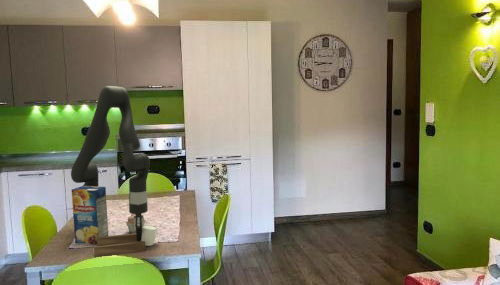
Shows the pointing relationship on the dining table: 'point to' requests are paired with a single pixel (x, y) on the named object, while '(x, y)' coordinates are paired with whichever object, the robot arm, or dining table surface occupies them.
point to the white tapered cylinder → (148, 234)
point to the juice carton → (89, 214)
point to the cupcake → (132, 223)
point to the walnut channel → (118, 244)
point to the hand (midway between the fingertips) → (139, 240)
